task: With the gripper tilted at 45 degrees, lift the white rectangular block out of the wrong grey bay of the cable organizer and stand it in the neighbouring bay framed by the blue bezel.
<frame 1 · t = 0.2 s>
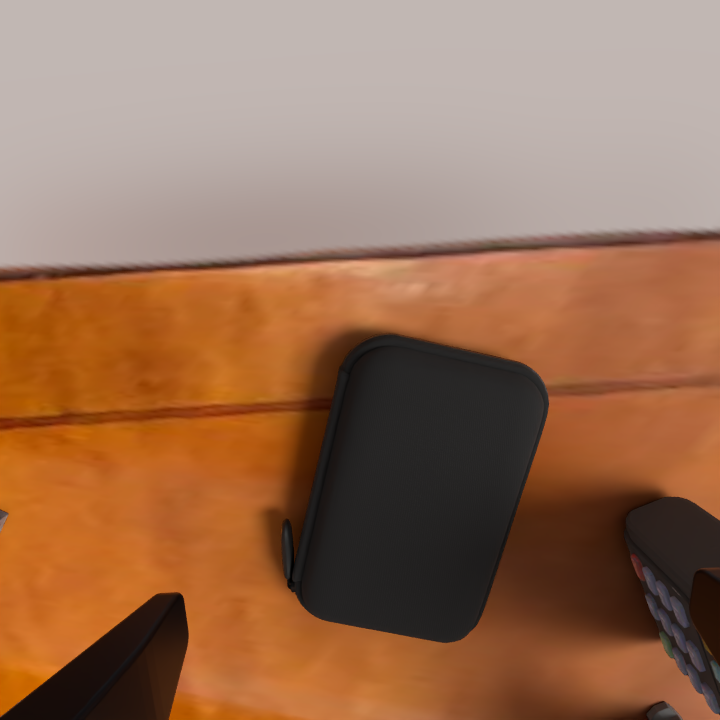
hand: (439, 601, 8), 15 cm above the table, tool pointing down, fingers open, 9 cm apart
carrying case or bag: (400, 477, 24), on the table
card reader: (664, 566, 25), on the table
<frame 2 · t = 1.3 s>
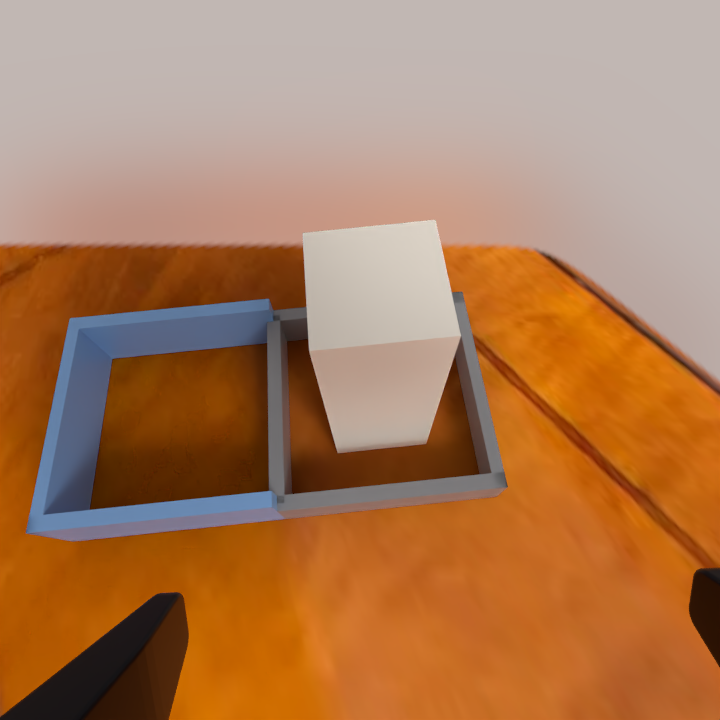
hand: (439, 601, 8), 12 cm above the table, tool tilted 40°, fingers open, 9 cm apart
organizer: (283, 416, 22), on the table
white rectangular block: (376, 407, 22), resting in organizer
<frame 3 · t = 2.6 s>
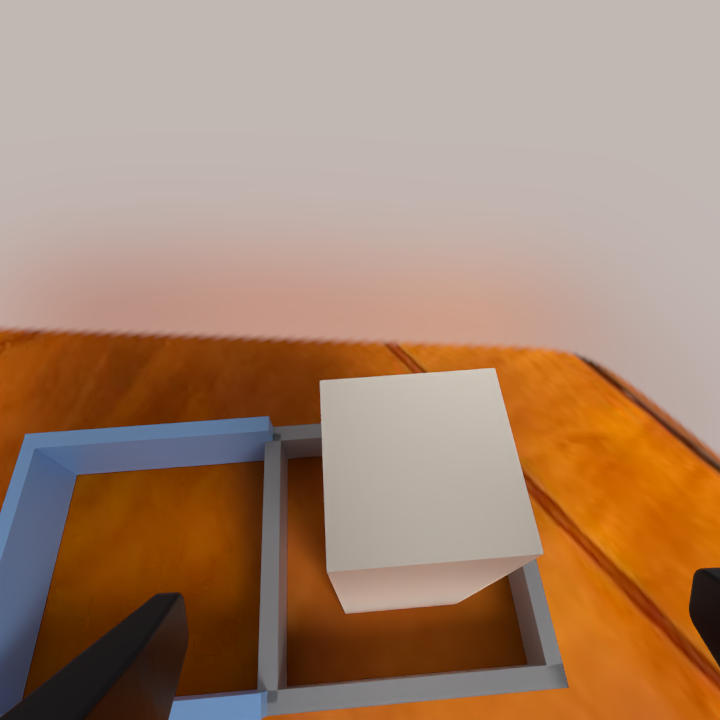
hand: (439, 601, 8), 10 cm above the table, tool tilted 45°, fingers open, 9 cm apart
organizer: (279, 559, 18), on the table
white rectangular block: (394, 550, 18), resting in organizer
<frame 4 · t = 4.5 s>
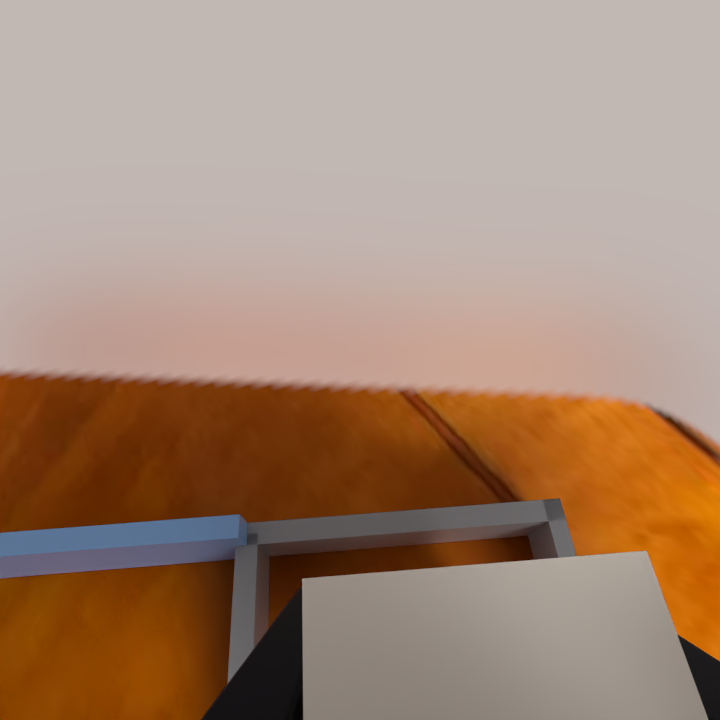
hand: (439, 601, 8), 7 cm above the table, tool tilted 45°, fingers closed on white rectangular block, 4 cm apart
organizer: (254, 715, 13), on the table
white rectangular block: (416, 700, 13), resting in organizer, touching gripper
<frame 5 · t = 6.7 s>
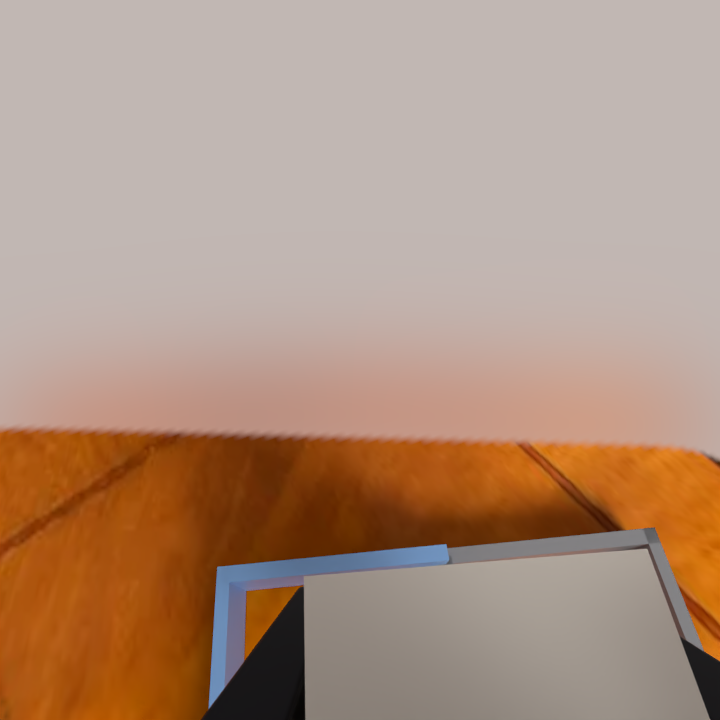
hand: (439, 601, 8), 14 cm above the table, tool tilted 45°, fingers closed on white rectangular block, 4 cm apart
organizer: (457, 679, 19), on the table
white rectangular block: (417, 699, 13), point 7 cm above the table, touching gripper
when the fingers open (8 cm above the table, at t = 8.6 s): white rectangular block drops 1 cm, resting in organizer.
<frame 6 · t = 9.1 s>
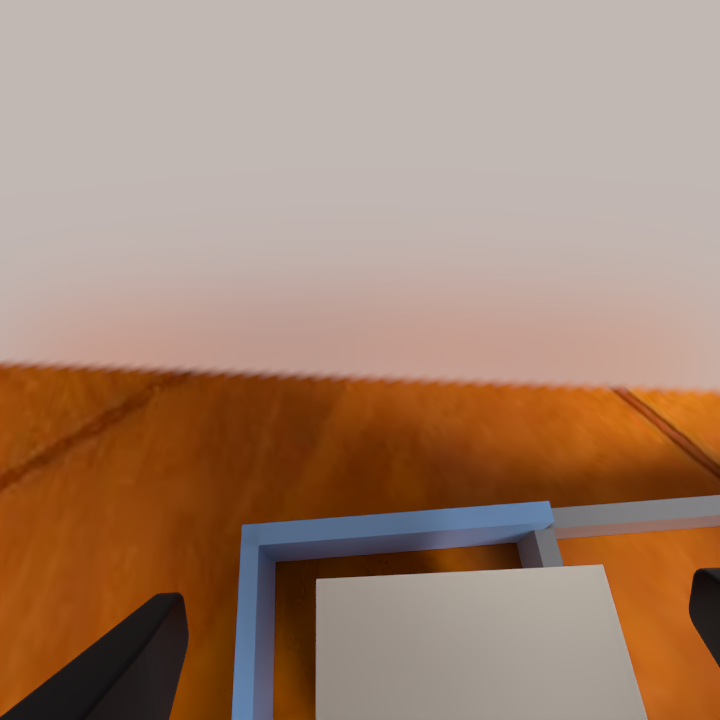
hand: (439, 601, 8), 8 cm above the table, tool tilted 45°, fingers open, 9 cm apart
organizer: (559, 682, 14), on the table
white rectangular block: (413, 692, 14), resting in organizer
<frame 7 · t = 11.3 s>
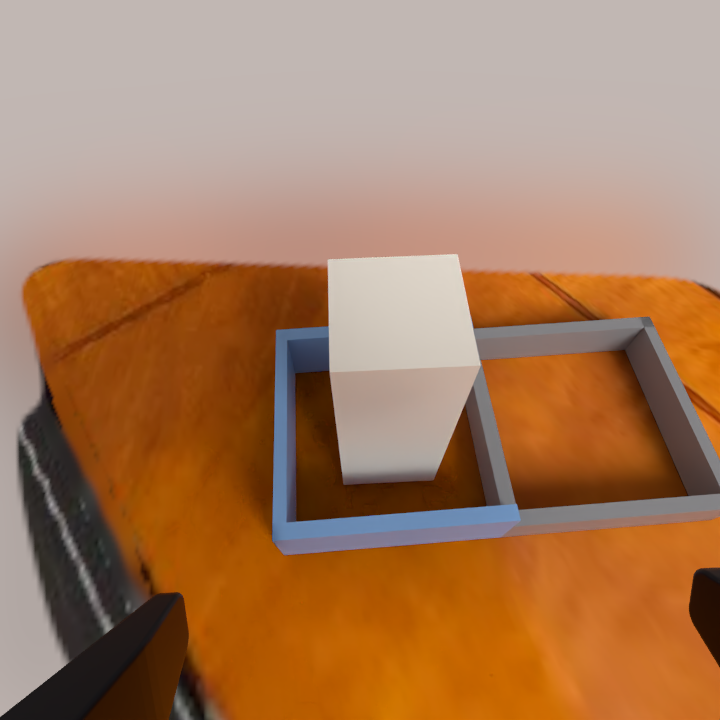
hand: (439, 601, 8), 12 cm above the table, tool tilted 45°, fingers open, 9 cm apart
organizer: (478, 434, 22), on the table
white rectangular block: (385, 440, 22), resting in organizer
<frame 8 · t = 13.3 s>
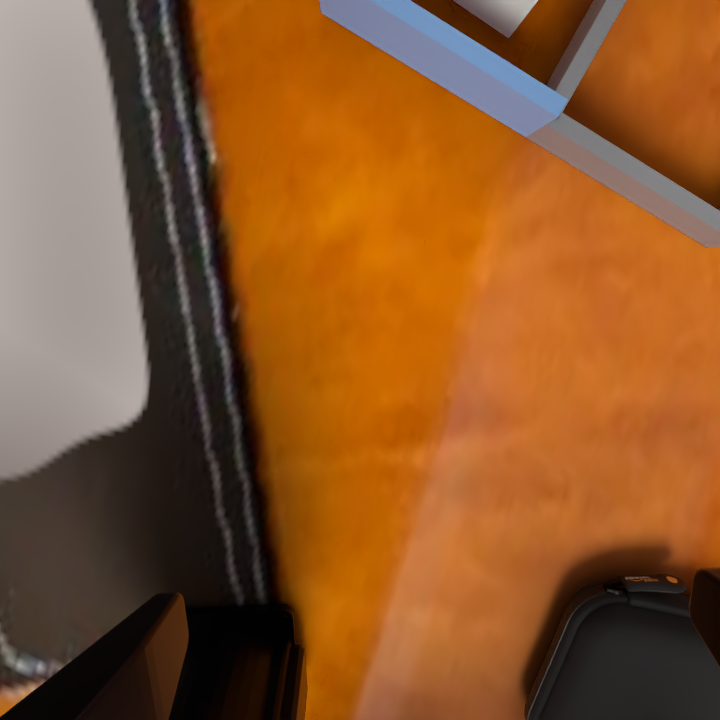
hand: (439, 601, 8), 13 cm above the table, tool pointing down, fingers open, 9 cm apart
carrying case or bag: (665, 652, 25), on the table
organizer: (591, 20, 18), on the table
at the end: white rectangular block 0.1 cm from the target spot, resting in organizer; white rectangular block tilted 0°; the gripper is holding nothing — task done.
